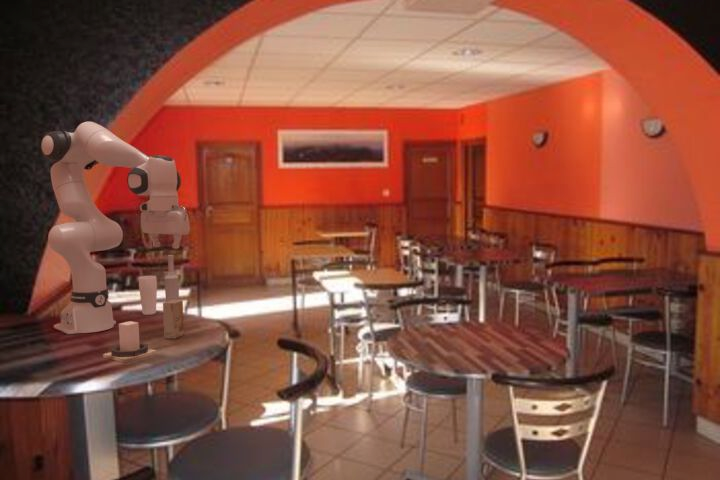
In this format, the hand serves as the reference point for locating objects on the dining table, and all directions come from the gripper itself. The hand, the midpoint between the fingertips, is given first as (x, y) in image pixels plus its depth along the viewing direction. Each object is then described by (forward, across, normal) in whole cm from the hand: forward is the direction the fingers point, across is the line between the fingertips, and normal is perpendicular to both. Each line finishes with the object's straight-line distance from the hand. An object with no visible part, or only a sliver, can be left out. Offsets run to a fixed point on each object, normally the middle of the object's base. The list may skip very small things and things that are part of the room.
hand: (166, 247), depth 196 cm
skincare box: (+31, +3, -4) cm, 32 cm away
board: (+31, -3, +18) cm, 36 cm away
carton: (+30, -3, +18) cm, 35 cm away
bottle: (+31, +23, -20) cm, 44 cm away
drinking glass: (+31, +40, -22) cm, 56 cm away
